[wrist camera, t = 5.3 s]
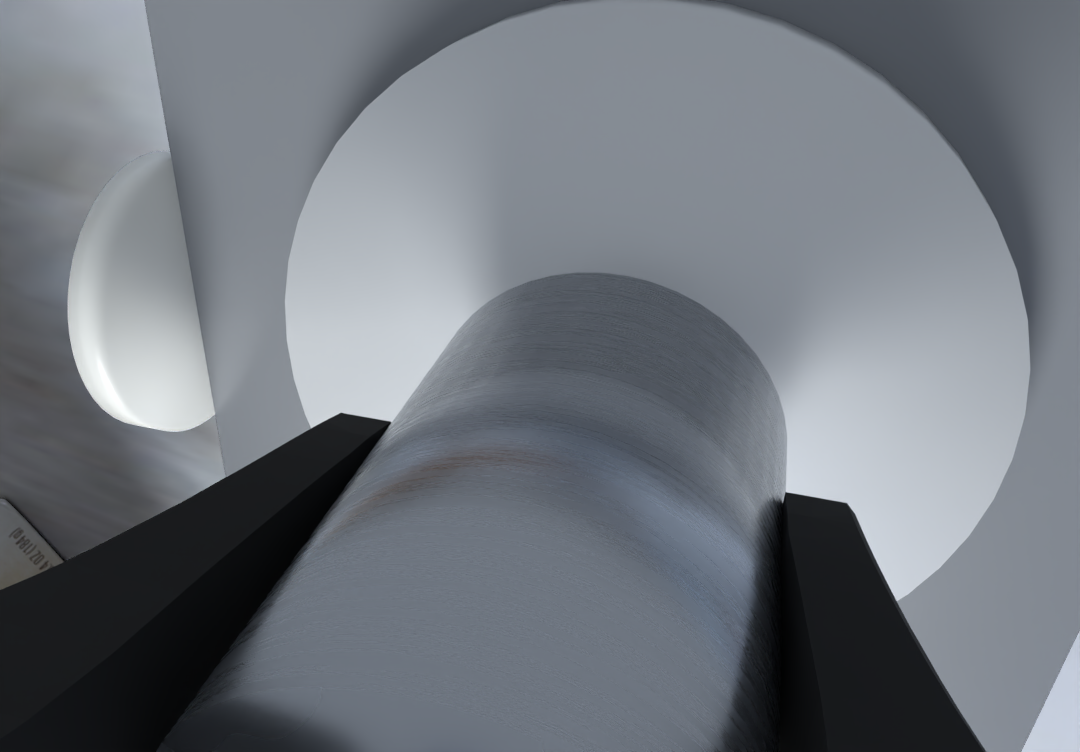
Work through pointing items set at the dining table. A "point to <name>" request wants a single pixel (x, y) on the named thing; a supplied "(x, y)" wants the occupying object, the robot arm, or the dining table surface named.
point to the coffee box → (21, 548)
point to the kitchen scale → (645, 249)
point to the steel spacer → (537, 551)
